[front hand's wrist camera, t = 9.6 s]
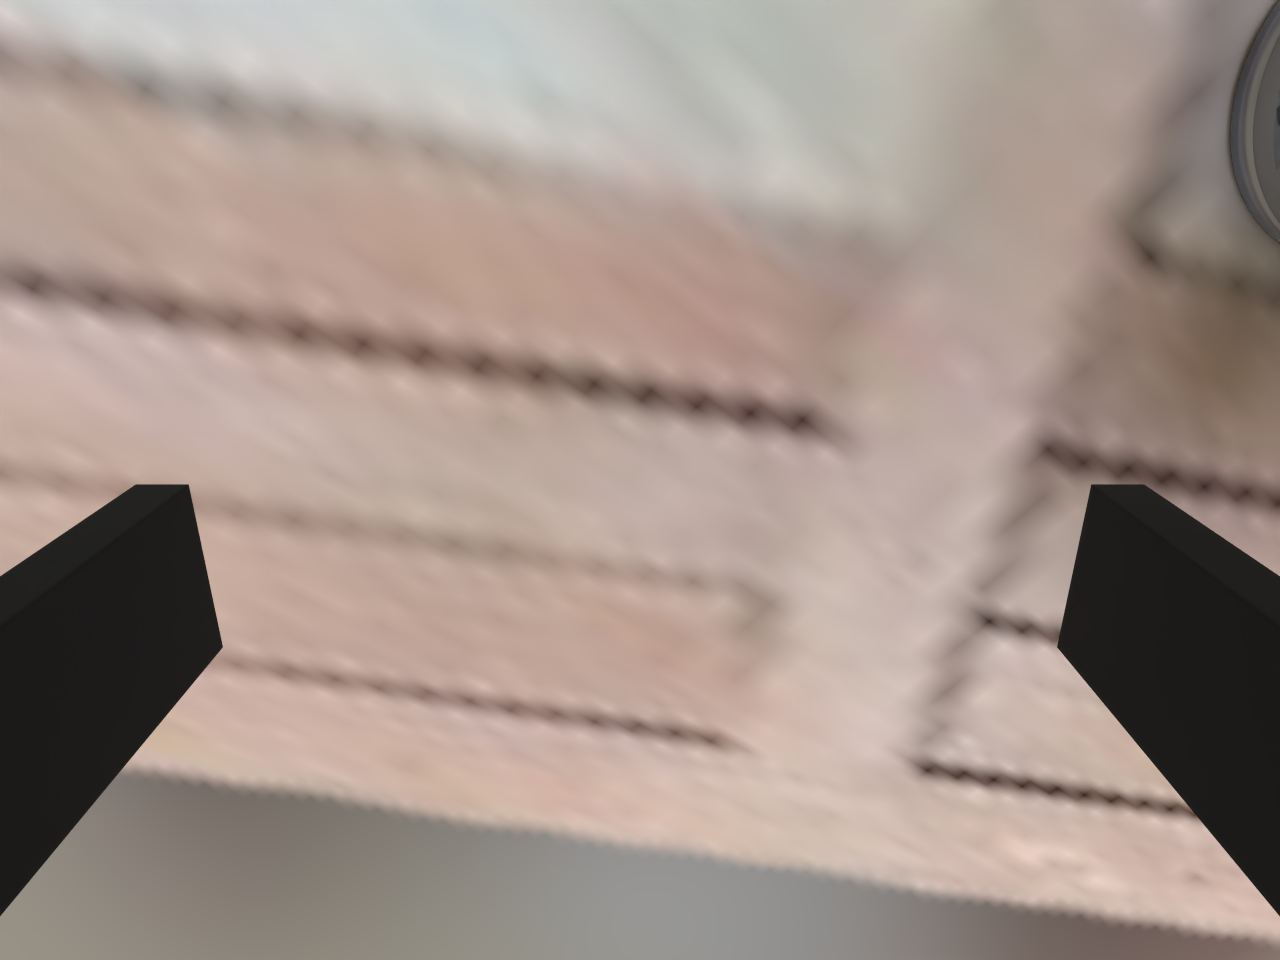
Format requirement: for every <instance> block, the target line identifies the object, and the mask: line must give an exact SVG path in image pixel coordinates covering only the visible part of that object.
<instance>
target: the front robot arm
mask: <svg viewBox="0 0 1280 960" xmlns="http://www.w3.org/2000/svg"><path fill="white" fill-rule="evenodd" d="M1230 137H1231V155H1232V162H1233V169H1234V173H1235V177H1236V181H1237V184H1238V187H1239V189H1240V192H1241V195H1242V197H1243V199H1244V201H1245V203H1246V205H1247V207H1248V209H1249V211H1250V212H1251V213H1252V215H1253V216H1254V218H1255V219H1256V221H1257V222H1258V223H1259V224H1260V225H1261V227H1262V228H1263V229H1264V230H1265V231H1266V232H1267V233H1268V234H1269V235H1270V236H1272V237H1273V238H1274V239H1275V240H1276V241H1277V242H1279V243H1280V0H1279V1H1278V2H1277V4H1276V5H1275V7H1274V8H1273V9H1272V11H1271V13H1270V14H1269V16H1268V18H1267V19H1266V21H1265V22H1264V24H1263V26H1262V27H1261V29H1260V31H1259V33H1258V35H1257V37H1256V39H1255V41H1254V43H1253V45H1252V47H1251V50H1250V52H1249V54H1248V57H1247V59H1246V61H1245V64H1244V67H1243V70H1242V73H1241V76H1240V79H1239V82H1238V86H1237V90H1236V94H1235V99H1234V104H1233V111H1232V117H1231V134H1230ZM222 648H223V646H222V641H221V636H220V631H219V627H218V622H217V617H216V612H215V608H214V603H213V598H212V593H211V589H210V584H209V579H208V574H207V570H206V565H205V560H204V555H203V551H202V546H201V541H200V536H199V532H198V527H197V522H196V517H195V513H194V508H193V503H192V498H191V494H190V489H189V485H134V486H133V487H132V488H130V489H129V490H127V491H126V492H124V493H123V494H121V495H120V496H118V497H117V498H115V499H114V500H112V501H111V502H109V503H108V504H106V505H105V506H103V507H102V508H101V509H99V510H98V511H96V512H95V513H93V514H92V515H90V516H89V517H87V518H86V519H84V520H83V521H81V522H80V523H78V524H77V525H75V526H74V527H72V528H71V529H70V530H68V531H67V532H65V533H64V534H62V535H61V536H59V537H58V538H56V539H55V540H53V541H52V542H50V543H49V544H47V545H46V546H44V547H43V548H41V549H40V550H39V551H37V552H36V553H34V554H33V555H31V556H30V557H28V558H27V559H25V560H24V561H22V562H21V563H19V564H18V565H16V566H15V567H13V568H12V569H10V570H9V571H8V572H6V573H5V574H3V575H2V576H0V916H1V914H2V913H3V912H4V911H5V910H6V908H7V907H8V906H9V905H10V904H11V902H12V901H13V900H14V899H15V898H16V896H17V895H18V894H19V893H20V892H21V890H22V889H23V888H24V887H25V886H26V884H27V883H28V882H29V881H30V880H31V878H32V877H33V876H34V875H35V873H36V872H37V871H38V870H39V869H40V867H41V866H42V865H43V864H44V863H45V861H46V860H47V859H48V858H49V857H50V855H51V854H52V853H53V852H54V851H55V849H56V848H57V847H58V846H59V844H60V843H61V842H62V841H63V840H64V838H65V837H66V836H67V835H68V834H69V832H70V831H71V830H72V829H73V828H74V826H75V825H76V824H77V823H78V822H79V820H80V819H81V818H82V817H83V815H84V814H85V813H86V812H87V811H88V809H89V808H90V807H91V806H92V805H93V803H94V802H95V801H96V800H97V798H98V797H99V796H100V795H101V794H102V793H103V791H104V790H105V789H106V788H107V786H108V785H109V784H110V783H111V782H112V780H113V779H114V778H115V777H116V776H117V774H118V773H119V772H120V771H121V770H122V768H123V767H124V766H125V765H126V764H127V762H128V761H129V760H130V759H131V757H132V756H133V755H134V754H135V753H136V751H137V750H138V749H139V748H140V747H141V745H142V744H143V743H144V742H145V741H146V739H147V738H148V737H149V736H150V735H151V733H152V732H153V731H154V730H155V728H156V727H157V726H158V725H159V724H160V722H161V721H162V720H163V719H164V718H165V716H166V715H167V714H168V713H169V712H170V710H171V709H172V708H173V707H174V706H175V704H176V703H177V702H178V701H179V699H180V698H181V697H182V696H183V695H184V693H185V692H186V691H187V690H188V689H189V687H190V686H191V685H192V684H193V683H194V681H195V680H196V679H197V678H198V677H199V675H200V674H201V673H202V672H203V670H204V669H205V668H206V667H207V666H208V664H209V663H210V662H211V661H212V660H213V658H214V657H215V656H216V655H217V654H218V652H219V651H220V650H221V649H222ZM1057 648H1058V649H1059V650H1060V651H1061V652H1062V654H1063V655H1064V656H1065V657H1066V658H1067V660H1068V661H1069V662H1070V663H1071V664H1072V666H1073V667H1074V668H1075V669H1076V670H1077V672H1078V673H1079V674H1080V675H1081V677H1082V678H1083V679H1084V680H1085V681H1086V683H1087V684H1088V685H1089V686H1090V687H1091V689H1092V690H1093V691H1094V692H1095V693H1096V695H1097V696H1098V697H1099V698H1100V699H1101V701H1102V702H1103V703H1104V704H1105V706H1106V707H1107V708H1108V709H1109V710H1110V712H1111V713H1112V714H1113V715H1114V716H1115V718H1116V719H1117V720H1118V721H1119V722H1120V724H1121V725H1122V726H1123V727H1124V728H1125V730H1126V731H1127V732H1128V733H1129V735H1130V736H1131V737H1132V738H1133V739H1134V741H1135V742H1136V743H1137V744H1138V745H1139V747H1140V748H1141V749H1142V750H1143V751H1144V753H1145V754H1146V755H1147V756H1148V757H1149V759H1150V760H1151V761H1152V762H1153V764H1154V765H1155V766H1156V767H1157V768H1158V770H1159V771H1160V772H1161V773H1162V774H1163V776H1164V777H1165V778H1166V779H1167V780H1168V782H1169V783H1170V784H1171V785H1172V786H1173V788H1174V789H1175V790H1176V791H1177V793H1178V794H1179V795H1180V796H1181V797H1182V799H1183V800H1184V801H1185V802H1186V803H1187V805H1188V806H1189V807H1190V808H1191V809H1192V811H1193V812H1194V813H1195V814H1196V815H1197V817H1198V818H1199V819H1200V820H1201V822H1202V823H1203V824H1204V825H1205V826H1206V828H1207V829H1208V830H1209V831H1210V832H1211V834H1212V835H1213V836H1214V837H1215V838H1216V840H1217V841H1218V842H1219V843H1220V844H1221V846H1222V847H1223V848H1224V849H1225V851H1226V852H1227V853H1228V854H1229V855H1230V857H1231V858H1232V859H1233V860H1234V861H1235V863H1236V864H1237V865H1238V866H1239V867H1240V869H1241V870H1242V871H1243V872H1244V873H1245V875H1246V876H1247V877H1248V878H1249V880H1250V881H1251V882H1252V883H1253V884H1254V886H1255V887H1256V888H1257V889H1258V890H1259V892H1260V893H1261V894H1262V895H1263V896H1264V898H1265V899H1266V900H1267V901H1268V902H1269V904H1270V905H1271V906H1272V907H1273V909H1274V910H1275V911H1276V912H1277V913H1278V915H1279V916H1280V576H1278V575H1277V574H1275V573H1274V572H1272V571H1271V570H1270V569H1268V568H1267V567H1265V566H1264V565H1262V564H1261V563H1259V562H1258V561H1256V560H1255V559H1253V558H1252V557H1250V556H1249V555H1247V554H1246V553H1244V552H1243V551H1241V550H1240V549H1239V548H1237V547H1236V546H1234V545H1233V544H1231V543H1230V542H1228V541H1227V540H1225V539H1224V538H1222V537H1221V536H1219V535H1218V534H1216V533H1215V532H1213V531H1212V530H1210V529H1209V528H1208V527H1206V526H1205V525H1203V524H1202V523H1200V522H1199V521H1197V520H1196V519H1194V518H1193V517H1191V516H1190V515H1188V514H1187V513H1185V512H1184V511H1182V510H1181V509H1179V508H1178V507H1177V506H1175V505H1174V504H1172V503H1171V502H1169V501H1168V500H1166V499H1165V498H1163V497H1162V496H1160V495H1159V494H1157V493H1156V492H1154V491H1153V490H1151V489H1150V488H1148V487H1147V486H1146V485H1091V489H1090V494H1089V498H1088V503H1087V508H1086V513H1085V517H1084V522H1083V527H1082V532H1081V536H1080V541H1079V546H1078V551H1077V555H1076V560H1075V565H1074V570H1073V574H1072V579H1071V584H1070V589H1069V593H1068V598H1067V603H1066V608H1065V612H1064V617H1063V622H1062V627H1061V631H1060V636H1059V641H1058V646H1057Z"/></svg>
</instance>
